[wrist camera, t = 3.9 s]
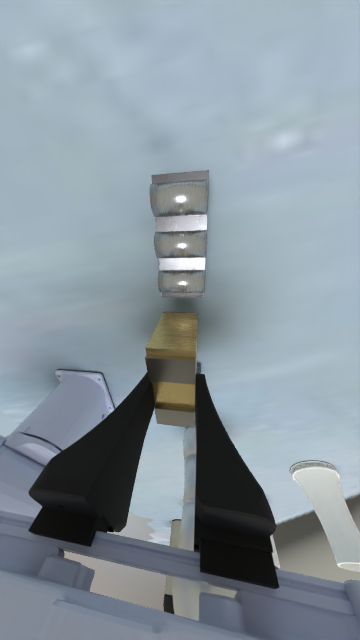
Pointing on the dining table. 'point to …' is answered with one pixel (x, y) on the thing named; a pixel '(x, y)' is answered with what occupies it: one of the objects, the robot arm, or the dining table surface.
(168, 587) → the travel mug
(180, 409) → the gold block
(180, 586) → the plastic bottle
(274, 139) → the dining table surface
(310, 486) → the vase
